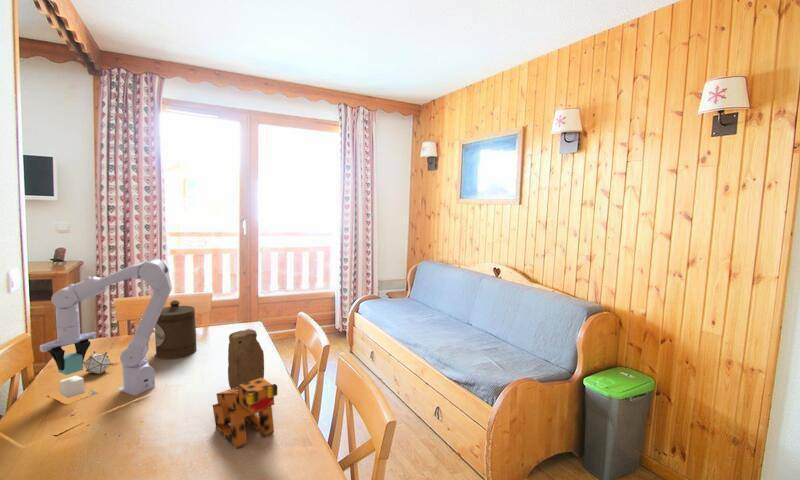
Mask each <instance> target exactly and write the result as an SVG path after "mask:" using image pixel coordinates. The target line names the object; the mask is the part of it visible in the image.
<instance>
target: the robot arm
mask: <svg viewBox="0 0 800 480" xmlns="http://www.w3.org/2000/svg"><path fill="white" fill-rule="evenodd" d="M170 277H171V276H170V270H169V268H168V266H167V264H166V263H165V262H164V261H163V260H162V259H159V258H152V259H149V260H148V261H143V262H139V263H135V264H131V265H129V266H126V267H124V268H122V269H120V270H116V271H115V272H112V273H110V274H108V275H106V276H104V277H98V276H90V275H89V276H86V277H85V278H84V280H82V281H79V282H76V283H75V284H74V283H70V284H68V285H67V286H65V287H64V288H61V289H59V290H57V291H56V292H54V293H53V294H52V296H51V298H50V299H51V300H50V301H51V304H52V305H53V306H54V308H55V321H56V323H55V324H56V325H55V326H56V336H57V337H56V338H57V339H55V340H52V341H49V342H46V343H43V344H40V345H39V352H41V353H46V352H48V353H49V354H50V356H51V358H53V360H54V362H55V364H56V367H57V370H58V369H59V370H64V355H65V352H66V351H65V349H63V347H67V346H69V345H70V346H71V345H73V344H74V348H75V353H78V354H81V355H82V359H83V362H85V361H84V360H85V357H86V353H87V352H88V349H89V347H90V346H91V340H94V339H97V332H94V331H91V332H86V333H81V323H80V309H79V302H83V301H85V300H88V299H90V298H93V297H95V296H97V295H100V294H102V293H103V292H104V291H105V289H106V288H107V287H109V286H112V285H114V284H117V283H120V282H123V281H125V280H128V279H133V280H140V279H142V280H143V281H144V282H146V283H147V285H149V286H150V288H151V290H152V291H153V293H152V295H151V296H150V297H151V298H150V299H149V301H148V304H147V306H146V309H145V311H144V313H143V316H142V317H141V319H140V322H139V324H138V327H137V328H136V329H135V330H136V331H135V333H134V335H133V337H132V339H131V340H130V342H129V343H128V345H127V346H126V348H125V349H124V350H123V351H122V352H121V353H120V355H119V360H120V362H121V365H122V385H123V386H121V387H118V388H117V390H119V391H121V392H123V393H126V394H129V395H132V396H137V395H139V394H141V393H143V392H147V391H148V390H151V389H153V388H155V387H158V385H157V384H156V378H155V369H154V367H152V366H151V365H150V364H149V358H148V356H147V355H146V354H147V353H148V351H149V341H150V340H151V336H152V333H153V332H154V330H155V325H156V323H157V321H158V318H159V316H160V314H161V312H162V310H163V308H165V305H166V303H167V300H168V299H169V296H170V294H171V292H172V288H173V285H172V281H171V278H170ZM89 340H90V341H89ZM59 370H58V371H59Z"/></svg>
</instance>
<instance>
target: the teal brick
mask: <svg viewBox="0 0 800 480" xmlns="http://www.w3.org/2000/svg"><path fill="white" fill-rule="evenodd" d="M83 362H84V361H83V359H82V355H81V354H78V353H76V351H73V352H70V353H67V354H64V370H59V369H58V368H57V370H58V373H59V374H61V375H62V374H63V375H64V376H68V375H71V374H74V373H77V372H80V371H83V370H84V364H83Z"/></svg>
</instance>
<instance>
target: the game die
mask: <svg viewBox="0 0 800 480" xmlns="http://www.w3.org/2000/svg"><path fill="white" fill-rule="evenodd" d="M107 353H108V351H105V353H102V352H101V353H100V352H99V353H98V352H96V351H95V350H93V354H92V355H89V357H88V358H87V359H85V361H83V366H85V368H86V370H85V372H86V373H87V372H88V374H89V373H90V374H91V373H95V374H94V375H100V374H101V375H102V373H103V372H104V371H106V369H108V368H109V367H110V366H113V365H114V363H111V361H110V359H109V357H110V356H109V355H107Z"/></svg>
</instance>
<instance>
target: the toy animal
mask: <svg viewBox="0 0 800 480" xmlns="http://www.w3.org/2000/svg"><path fill="white" fill-rule="evenodd" d="M276 396H278V384H276V383H274V384H272V383H271V382H270V381H268V380H266V379H265V378H264V379H263V378H259V379H256V380H253V381H250V382H246V383H243V384H240V385H238V387H236V388H233V389H231V388H229V389H226V390H224V391H220V392H218V393H216V399H217V403H215V404H212V410H213V417H214V424H215V429H216V430H217V431H218V433H220V435H222V437H224V438H225V440H226V441H227V442H228V443H232V447H234V448H236V449H239V448H241V447H243V446H245V445H247V444H248V441H247V432H246V424H245V422H247V423H248V424H249V425H250V426H251V427H253V428H254V429H255V430H256V431H260V435H262V436H265V437H266V436H269V435H270V434H272V433H274V432H275V427H274V419H273V408H272V407H273V405H275V397H276ZM257 413H258V415H257Z"/></svg>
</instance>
